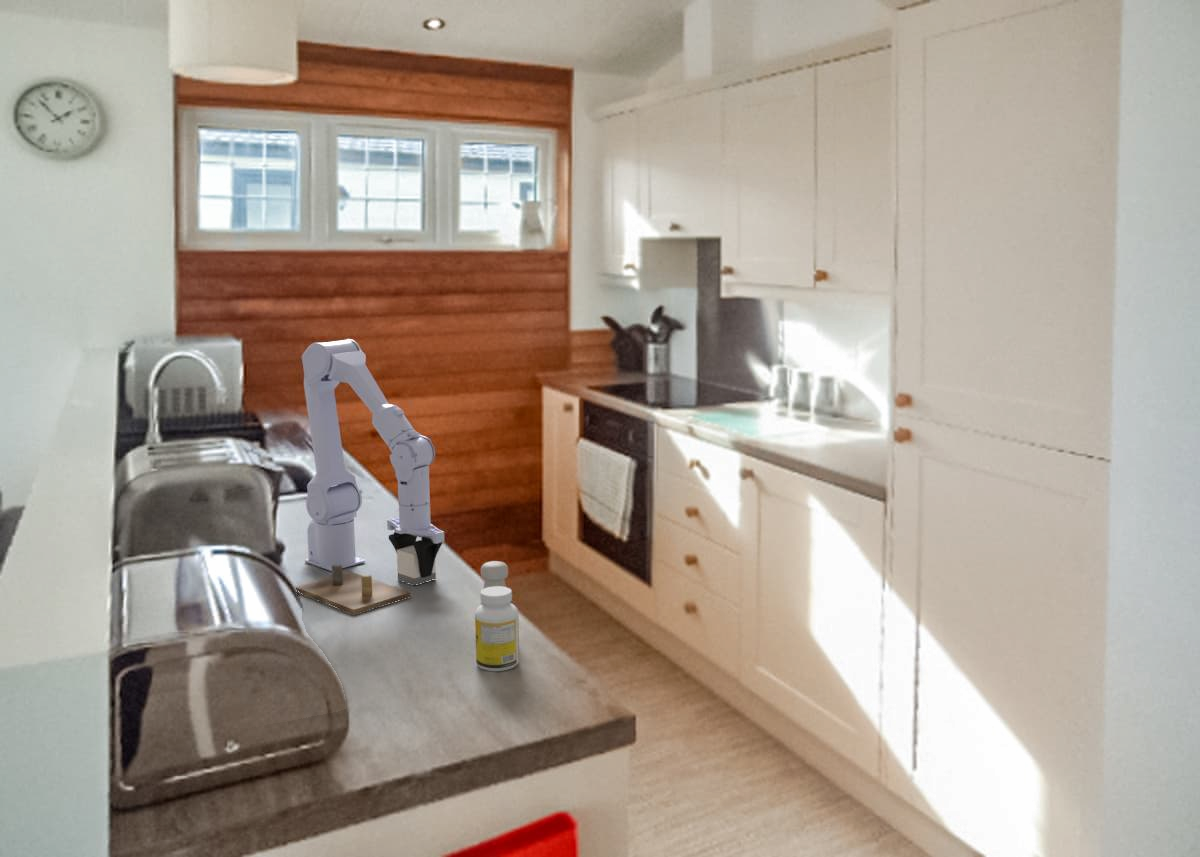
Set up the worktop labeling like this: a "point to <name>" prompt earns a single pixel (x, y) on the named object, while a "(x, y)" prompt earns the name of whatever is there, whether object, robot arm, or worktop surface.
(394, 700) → the worktop surface
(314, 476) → the robot arm
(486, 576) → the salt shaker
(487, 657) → the pill bottle
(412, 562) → the sleeve
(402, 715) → the worktop surface
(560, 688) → the worktop surface
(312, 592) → the pin board
